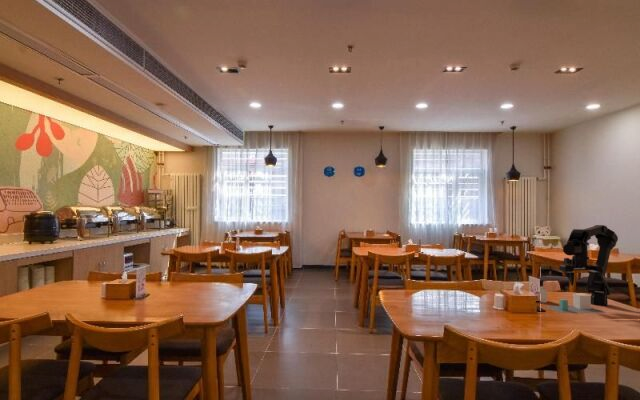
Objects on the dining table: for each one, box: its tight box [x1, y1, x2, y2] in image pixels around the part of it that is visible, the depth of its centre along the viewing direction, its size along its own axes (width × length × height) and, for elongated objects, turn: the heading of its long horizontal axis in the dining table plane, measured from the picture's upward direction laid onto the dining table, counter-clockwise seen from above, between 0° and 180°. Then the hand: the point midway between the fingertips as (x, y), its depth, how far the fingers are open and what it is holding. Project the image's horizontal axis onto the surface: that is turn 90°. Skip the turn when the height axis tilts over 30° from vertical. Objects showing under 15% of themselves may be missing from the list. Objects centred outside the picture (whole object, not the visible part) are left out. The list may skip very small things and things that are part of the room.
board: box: [544, 305, 606, 314], centre depth 198 cm, size 22×14×1 cm, turn 89°
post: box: [558, 298, 569, 311], centre depth 197 cm, size 3×3×5 cm
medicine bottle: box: [538, 278, 548, 303], centre depth 218 cm, size 7×7×12 cm
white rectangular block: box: [572, 292, 592, 309], centre depth 202 cm, size 5×5×7 cm
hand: (581, 285), depth 202 cm, fingers open, 9 cm apart
